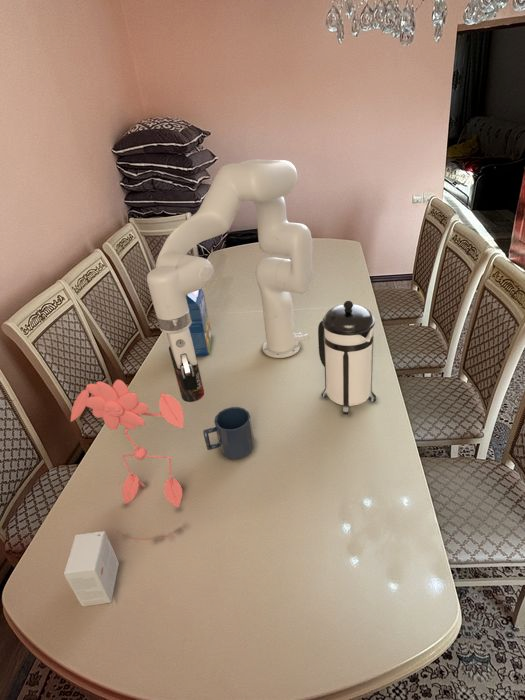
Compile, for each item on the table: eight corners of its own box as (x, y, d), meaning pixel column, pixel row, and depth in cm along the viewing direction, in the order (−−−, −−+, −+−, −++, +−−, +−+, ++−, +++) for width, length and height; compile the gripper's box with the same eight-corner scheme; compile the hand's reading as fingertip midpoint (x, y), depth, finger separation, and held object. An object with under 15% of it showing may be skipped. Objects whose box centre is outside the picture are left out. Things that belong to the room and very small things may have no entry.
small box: (91, 567, 89) (74, 533, 83) (120, 563, 89) (105, 529, 84) (81, 608, 82) (61, 574, 77) (111, 603, 82) (94, 570, 77)
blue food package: (190, 356, 152) (175, 289, 139) (195, 338, 163) (181, 274, 150) (209, 355, 152) (196, 287, 139) (212, 337, 162) (200, 272, 149)
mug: (249, 432, 118) (245, 403, 113) (258, 454, 111) (254, 424, 106) (205, 444, 116) (198, 415, 111) (211, 467, 108) (205, 438, 103)
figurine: (113, 479, 108) (66, 357, 90) (215, 490, 102) (186, 362, 84) (78, 534, 96) (14, 405, 78) (191, 551, 90) (151, 415, 71)
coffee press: (379, 383, 130) (383, 287, 114) (371, 419, 117) (375, 317, 101) (320, 376, 135) (316, 284, 120) (307, 410, 123) (301, 312, 107)
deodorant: (200, 402, 114) (188, 353, 106) (178, 401, 115) (165, 352, 107) (207, 388, 119) (196, 339, 111) (186, 387, 120) (174, 339, 112)
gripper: (196, 332, 98) (210, 397, 108) (185, 300, 113) (198, 360, 122) (162, 341, 97) (179, 405, 107) (155, 307, 111) (171, 367, 121)
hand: (189, 380), depth 114 cm, fingers closed on deodorant, 5 cm apart
